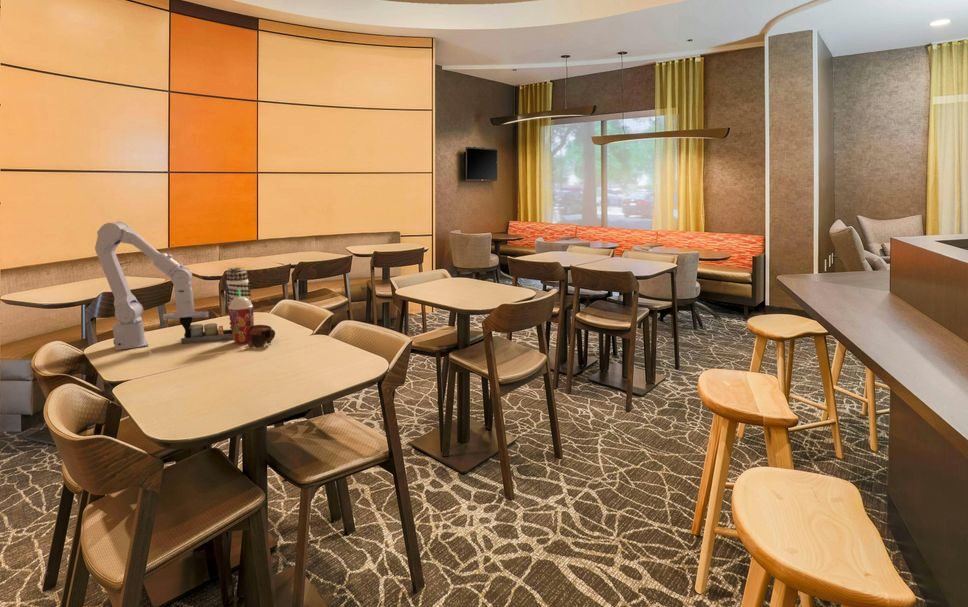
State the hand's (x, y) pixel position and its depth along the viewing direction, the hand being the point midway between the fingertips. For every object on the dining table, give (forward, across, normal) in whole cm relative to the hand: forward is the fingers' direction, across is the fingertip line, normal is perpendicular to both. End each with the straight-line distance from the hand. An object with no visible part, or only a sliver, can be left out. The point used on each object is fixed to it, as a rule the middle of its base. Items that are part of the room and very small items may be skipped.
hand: (188, 337), depth 198 cm
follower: (+2, +11, 0) cm, 11 cm away
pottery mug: (+2, +26, -14) cm, 29 cm away
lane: (+2, +7, 0) cm, 7 cm away
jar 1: (+1, +3, 0) cm, 3 cm away
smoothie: (+2, +19, -9) cm, 21 cm away
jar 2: (+1, +8, 0) cm, 8 cm away
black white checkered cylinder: (+2, +18, +12) cm, 21 cm away
